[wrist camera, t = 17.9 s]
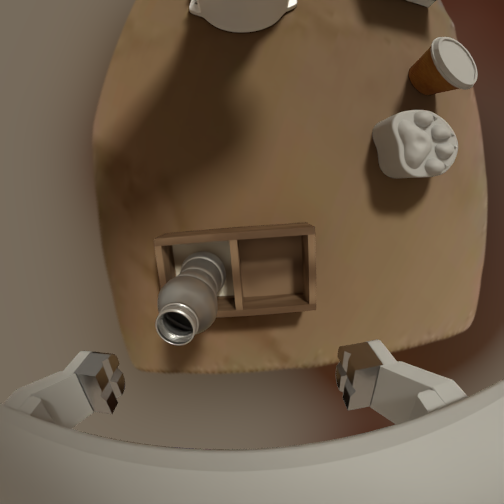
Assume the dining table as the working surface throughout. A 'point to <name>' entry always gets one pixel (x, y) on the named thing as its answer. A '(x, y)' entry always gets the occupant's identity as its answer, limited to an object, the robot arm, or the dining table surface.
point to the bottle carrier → (250, 266)
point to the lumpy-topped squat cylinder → (415, 144)
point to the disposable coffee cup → (443, 68)
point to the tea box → (423, 2)
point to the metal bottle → (190, 298)
